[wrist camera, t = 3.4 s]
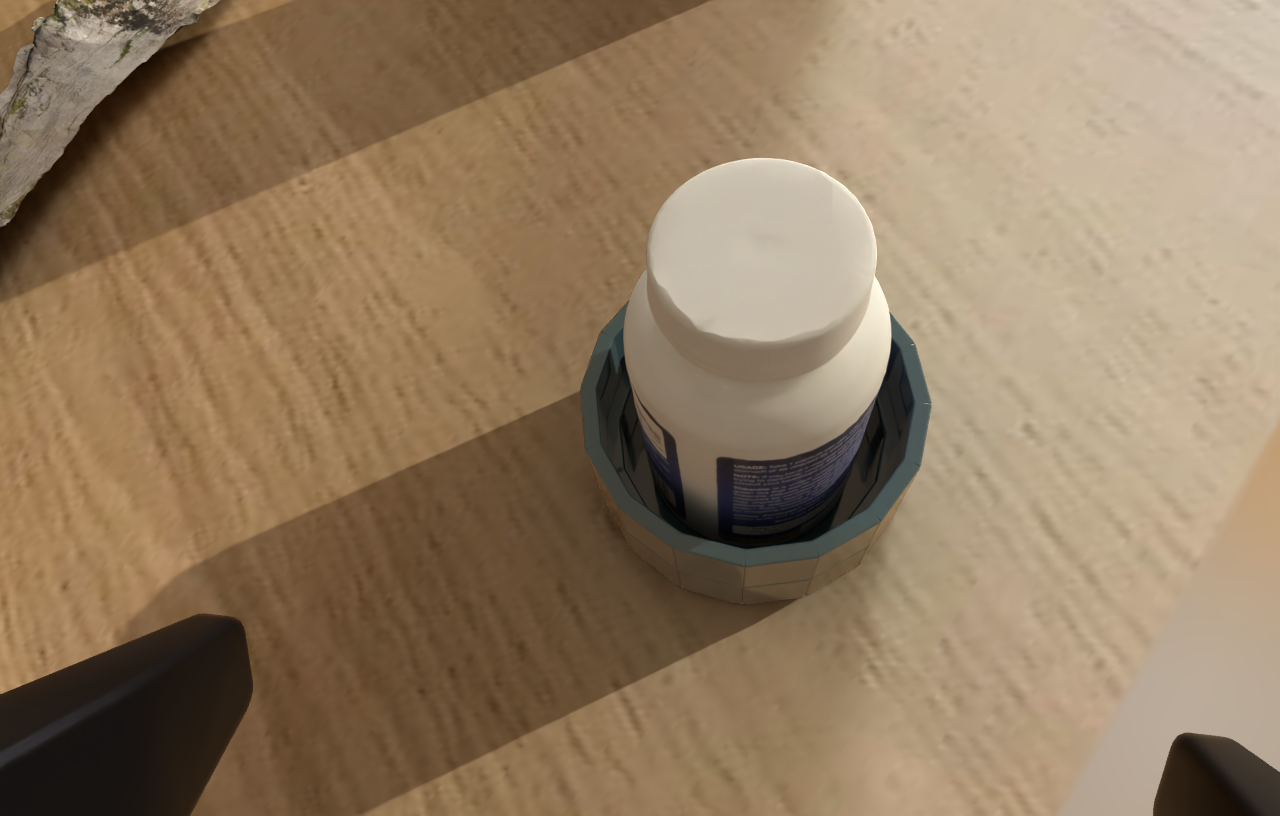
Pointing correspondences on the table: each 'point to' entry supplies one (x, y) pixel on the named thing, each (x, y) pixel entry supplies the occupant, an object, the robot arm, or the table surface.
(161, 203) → the table surface
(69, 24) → the driftwood
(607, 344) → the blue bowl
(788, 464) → the pill bottle
